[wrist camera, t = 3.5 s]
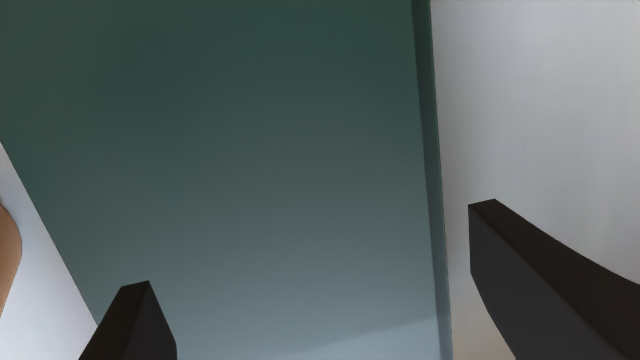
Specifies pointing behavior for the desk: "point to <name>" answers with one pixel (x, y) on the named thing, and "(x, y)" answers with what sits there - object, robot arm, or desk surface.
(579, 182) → the desk surface
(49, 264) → the desk surface
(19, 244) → the orange cylinder
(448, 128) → the desk surface
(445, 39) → the desk surface
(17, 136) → the book
